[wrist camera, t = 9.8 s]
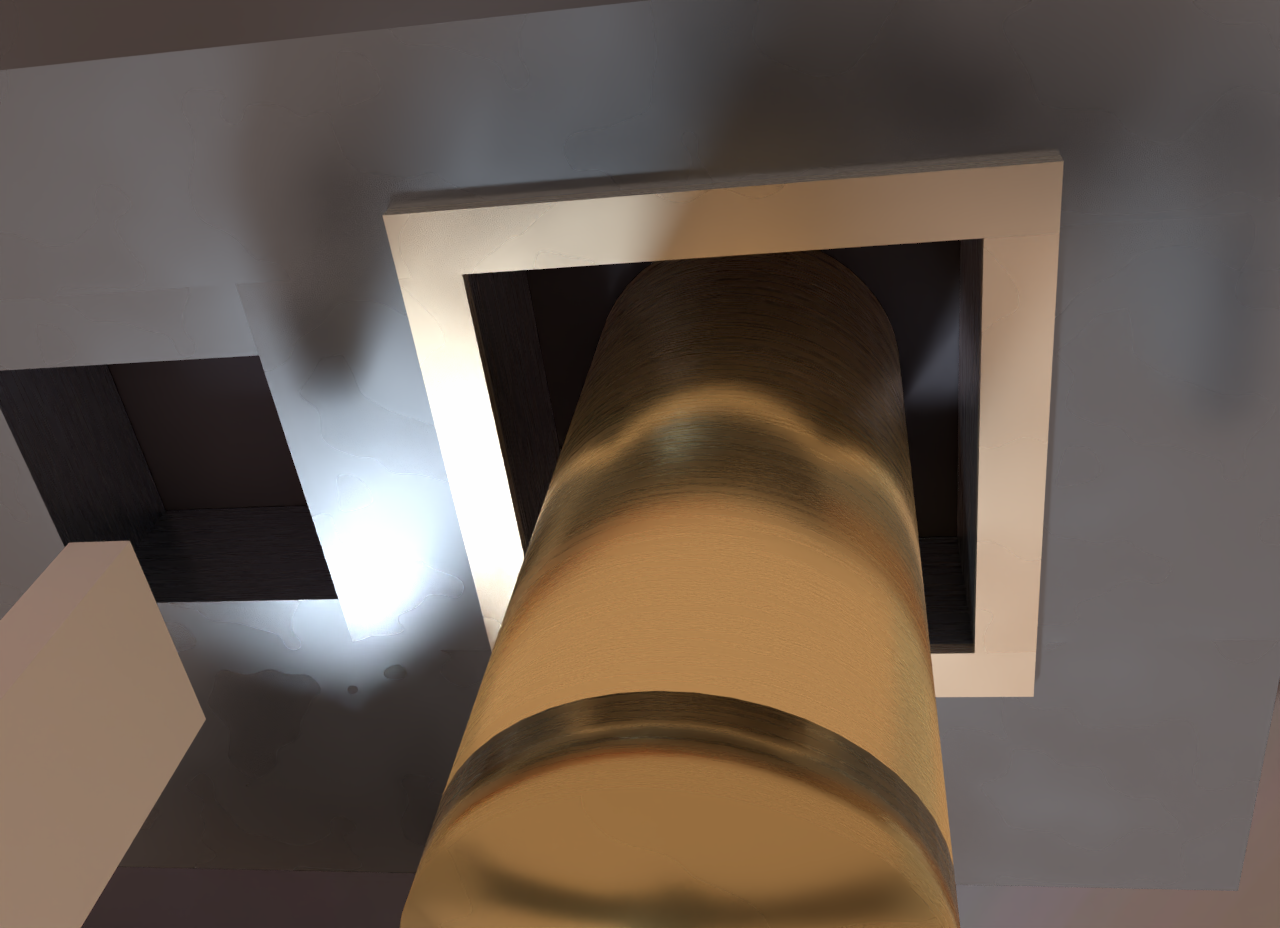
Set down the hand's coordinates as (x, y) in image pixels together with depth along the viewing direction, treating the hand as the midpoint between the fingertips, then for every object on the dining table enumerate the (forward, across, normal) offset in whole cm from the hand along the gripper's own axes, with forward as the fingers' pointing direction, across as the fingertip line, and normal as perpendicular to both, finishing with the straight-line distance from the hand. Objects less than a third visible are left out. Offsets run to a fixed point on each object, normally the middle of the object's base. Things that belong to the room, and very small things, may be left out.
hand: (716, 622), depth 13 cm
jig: (+6, -3, 0) cm, 6 cm away
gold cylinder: (+6, 0, 0) cm, 6 cm away
